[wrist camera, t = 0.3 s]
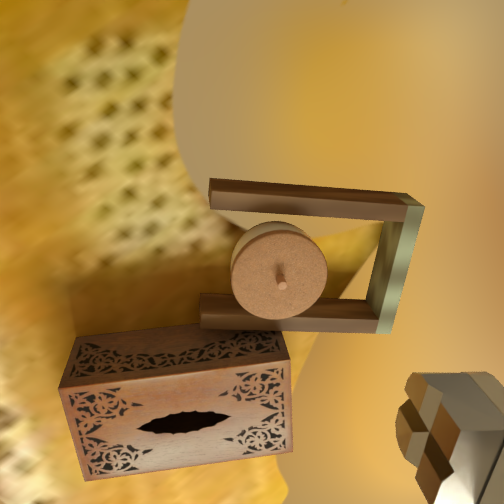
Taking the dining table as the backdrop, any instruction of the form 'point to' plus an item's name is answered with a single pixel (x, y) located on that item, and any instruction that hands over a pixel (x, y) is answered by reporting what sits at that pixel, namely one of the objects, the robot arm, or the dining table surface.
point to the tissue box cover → (176, 398)
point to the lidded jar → (277, 270)
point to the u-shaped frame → (324, 205)
